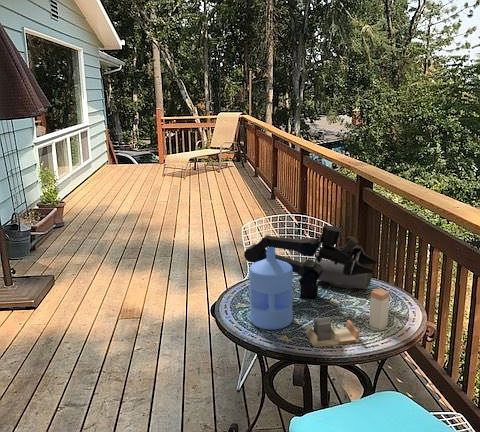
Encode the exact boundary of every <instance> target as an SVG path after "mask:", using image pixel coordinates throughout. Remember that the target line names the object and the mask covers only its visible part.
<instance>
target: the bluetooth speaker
mask: <svg viewBox="0 0 480 432" xmlns="http://www.w3.org/2000/svg"><path fill="white" fill-rule="evenodd" d="M316 261H317V260H316ZM317 263H318V261H317ZM334 263H335V262H333V261H329V260H326V259H322V260H321V261H320V263H318V264H320V265H321V267H322V270H323V272H322V274H321V276H320V277H319V279H318V280H320V281H323V282H326V283H328V284H329V285H331V286H334V287H339V288H343V289H350V290H352V289H354V288H356V289H360V290H367V289H368V288H369V287H370V285H371V282H372V273H365V274H357V275H352V276H351V274H350V276H346V275H344V274H343V269H344V265H342V264H339V263H338V264H337V265H336V264H334ZM351 273H352V272H351Z"/></svg>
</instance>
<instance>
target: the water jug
mask: <svg viewBox="0 0 480 432" xmlns="http://www.w3.org/2000/svg"><path fill="white" fill-rule="evenodd" d="M265 249H266V250H267V253H266V255H267V258H266V259H264V260H261V261H258V262H255V263H253V262H252V264H251V265H250V266H249V275H248V276H249V277H248V278H249V279H248V280H249V302H250V303H249V306H250V307H249V308H250V311H249V319H250V322H251V324H252V325H254V326H255V327H257V328H259V329H263V330H269V331H272V330H273V331H275V330H279V329H284V328H286V327H288V326H289V325H290V324H291V323H292V321H293V320H294V319H293V317H294V314H293V299H294V298H293V297H294V294H293V279H294V272H293V269H292V266H291V265H290V264H289V263H287V262H284V261H281V260H278V259H276V258H275V254H276V248H274V247H266V248H265Z"/></svg>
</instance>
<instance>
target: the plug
mask: <svg viewBox="0 0 480 432" xmlns="http://www.w3.org/2000/svg"><path fill="white" fill-rule="evenodd" d="M390 293H391V292H390V291H388V290H385V289H383V288H375V289H374V290H372V291H370V304H369V323H368V325H369V326H370V327H373V328H375V329H377V330H379V331H380V330H382V329H384V328H386V327H388V320H389V307H390Z"/></svg>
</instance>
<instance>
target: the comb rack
mask: <svg viewBox="0 0 480 432" xmlns="http://www.w3.org/2000/svg"><path fill="white" fill-rule="evenodd" d="M306 337H307V338H308V341H310V343H311V344H312V346H313V348H320V347H326V346H327V347H328V346H335V345H338V346H340V345H341V346H342V345H346V344H355V343H359V341H360V330H359V329H358V328H357V327H356V326H355V324H354V323H353V322H352V321H351V320H350V319H347V320H346V327H343V328H342V327H341V328H335V327H334V325H332V322H331V321H330V320H329V318H328V317H327V316H325V317H319V318H318V317H317V318H316V317H315V318H313V328H312V326H311V325H310V324H307V325H306Z"/></svg>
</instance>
